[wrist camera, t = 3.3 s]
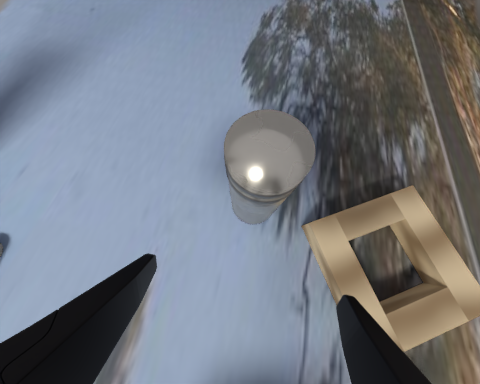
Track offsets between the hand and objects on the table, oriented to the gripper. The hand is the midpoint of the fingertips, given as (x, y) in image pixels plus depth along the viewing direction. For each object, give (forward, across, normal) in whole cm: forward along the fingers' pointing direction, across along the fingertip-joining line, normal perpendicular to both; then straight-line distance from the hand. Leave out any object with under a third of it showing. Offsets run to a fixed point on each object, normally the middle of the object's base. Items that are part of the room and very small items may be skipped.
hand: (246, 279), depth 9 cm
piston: (+14, 0, +4) cm, 14 cm away
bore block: (+11, -15, +7) cm, 20 cm away
